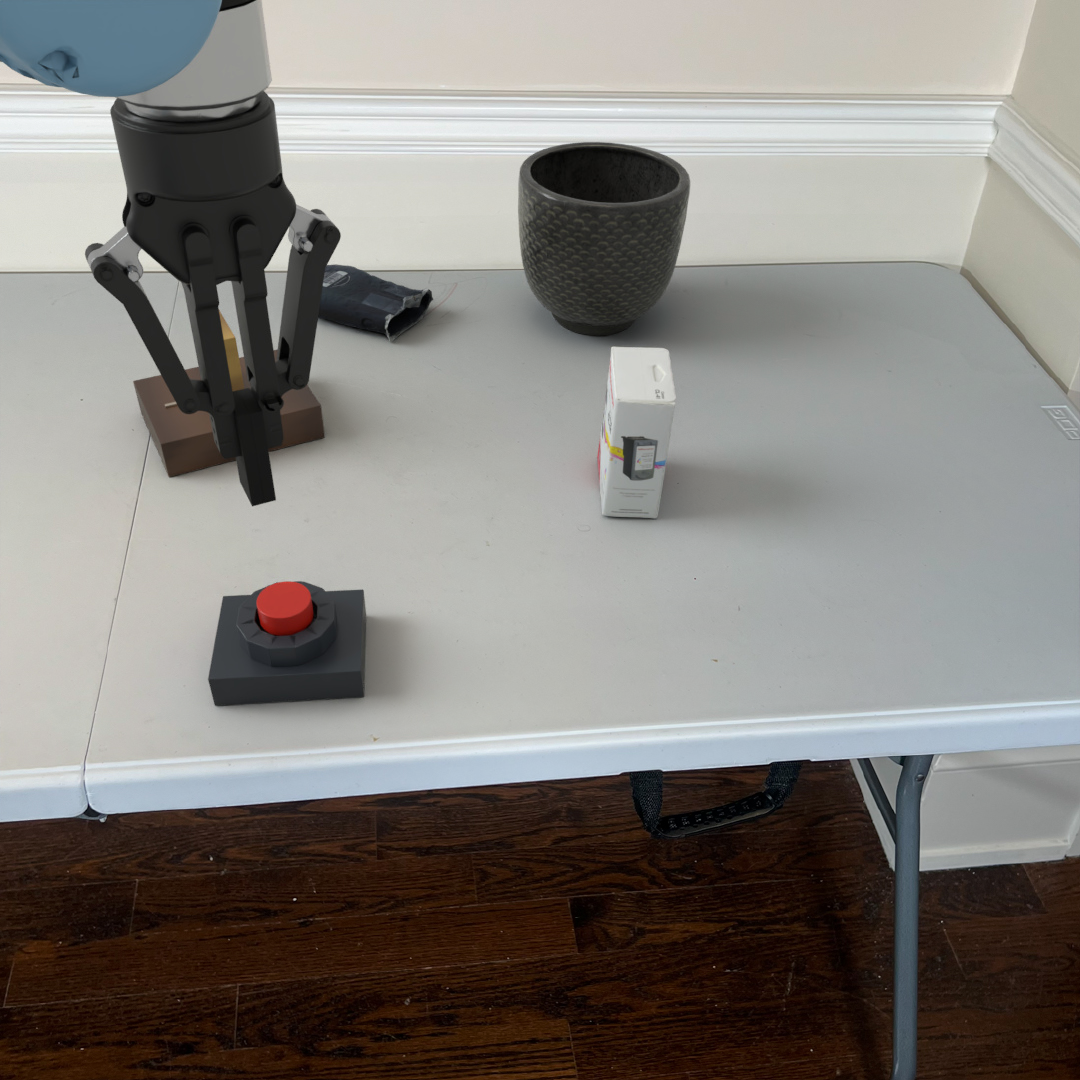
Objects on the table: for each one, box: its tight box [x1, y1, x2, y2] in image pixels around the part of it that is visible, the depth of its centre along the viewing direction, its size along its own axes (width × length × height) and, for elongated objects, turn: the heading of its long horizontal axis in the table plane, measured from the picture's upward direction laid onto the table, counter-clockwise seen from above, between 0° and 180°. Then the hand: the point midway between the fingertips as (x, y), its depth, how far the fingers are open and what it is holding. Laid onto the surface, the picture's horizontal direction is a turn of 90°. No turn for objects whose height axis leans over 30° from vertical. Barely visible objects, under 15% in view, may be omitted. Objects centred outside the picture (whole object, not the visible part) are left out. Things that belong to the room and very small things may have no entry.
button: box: [256, 580, 314, 636], centre depth 70 cm, size 4×4×2 cm
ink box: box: [596, 345, 677, 519], centre depth 86 cm, size 9×5×12 cm, turn 0°
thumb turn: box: [219, 309, 244, 391], centre depth 90 cm, size 6×2×7 cm, turn 28°
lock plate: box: [132, 348, 326, 478], centre depth 94 cm, size 14×11×4 cm
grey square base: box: [207, 580, 367, 707], centre depth 72 cm, size 10×8×4 cm
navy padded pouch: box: [318, 263, 434, 343], centre depth 111 cm, size 9×6×15 cm
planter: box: [517, 141, 691, 336], centre depth 108 cm, size 17×17×16 cm
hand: (257, 490), depth 64 cm, fingers closed
